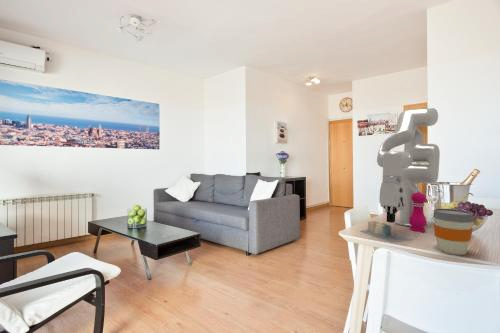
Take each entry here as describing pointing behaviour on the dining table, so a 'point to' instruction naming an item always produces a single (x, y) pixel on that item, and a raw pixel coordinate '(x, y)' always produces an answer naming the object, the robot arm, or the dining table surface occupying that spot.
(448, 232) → the reusable coffee cup
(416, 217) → the pepper mill
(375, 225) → the beech block
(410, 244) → the dining table surface
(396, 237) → the slate mat
